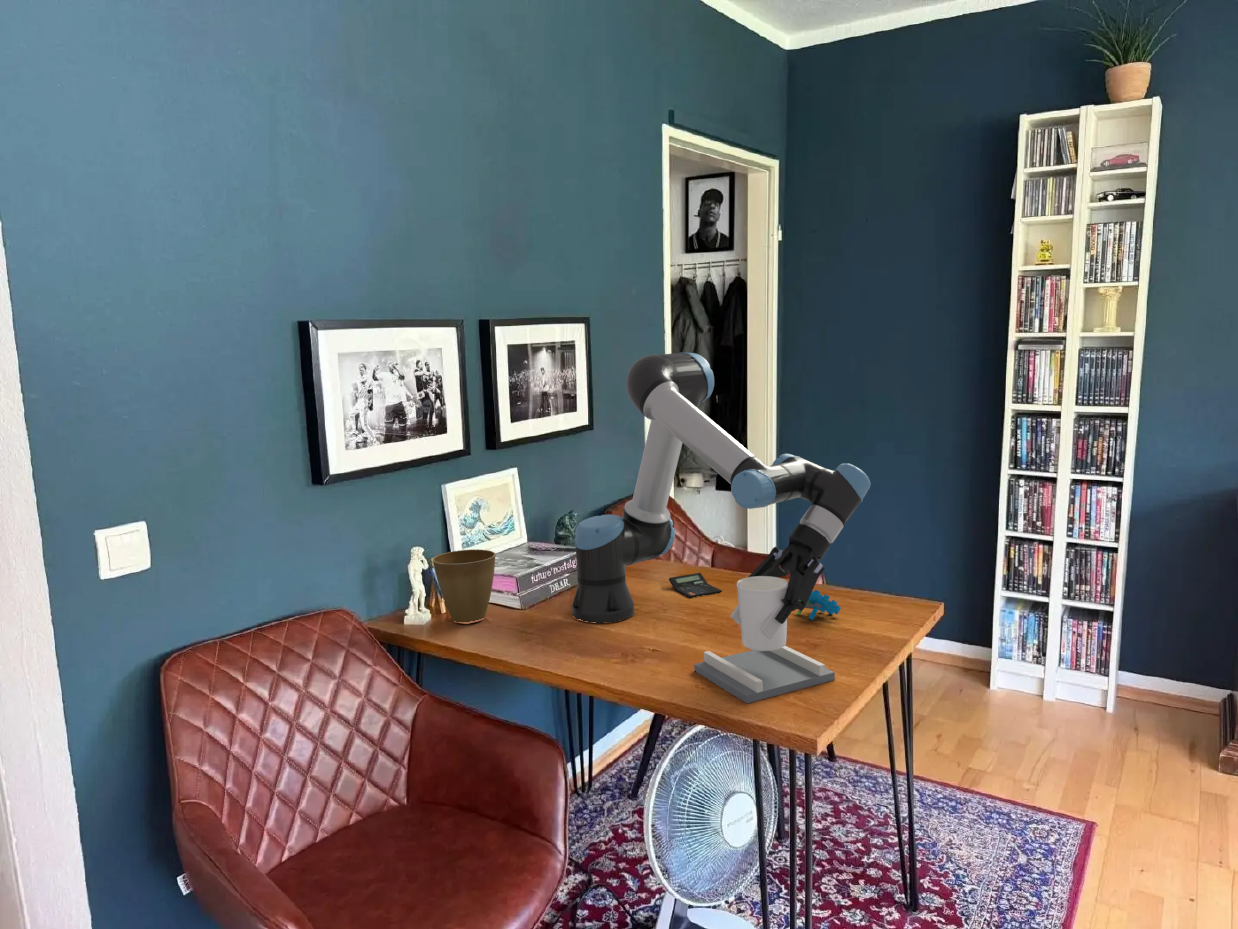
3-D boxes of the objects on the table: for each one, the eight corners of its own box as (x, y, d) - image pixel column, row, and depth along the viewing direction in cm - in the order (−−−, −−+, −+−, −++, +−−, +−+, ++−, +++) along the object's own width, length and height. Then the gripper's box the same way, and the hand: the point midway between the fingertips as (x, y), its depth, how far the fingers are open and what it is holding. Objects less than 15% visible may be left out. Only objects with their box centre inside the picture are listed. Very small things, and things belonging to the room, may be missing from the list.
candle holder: (728, 645, 165) (726, 585, 163) (757, 631, 172) (755, 573, 170) (771, 656, 158) (770, 593, 156) (800, 641, 165) (798, 580, 163)
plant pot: (512, 616, 209) (508, 552, 207) (465, 634, 198) (460, 567, 196) (472, 606, 219) (467, 545, 217) (425, 623, 208) (419, 558, 205)
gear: (850, 611, 196) (824, 587, 193) (839, 633, 194) (813, 609, 190) (815, 607, 206) (790, 583, 202) (804, 628, 204) (779, 604, 200)
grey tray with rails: (746, 703, 154) (746, 685, 153) (694, 671, 170) (693, 654, 169) (834, 679, 162) (834, 662, 162) (776, 651, 179) (776, 635, 178)
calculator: (689, 599, 218) (689, 588, 217) (669, 588, 228) (668, 577, 228) (721, 593, 221) (721, 582, 221) (700, 583, 232) (699, 572, 232)
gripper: (864, 556, 160) (797, 655, 155) (791, 535, 179) (729, 623, 174) (841, 532, 156) (772, 632, 152) (769, 513, 176) (706, 602, 171)
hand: (749, 627), depth 163 cm, fingers closed on candle holder, 9 cm apart
